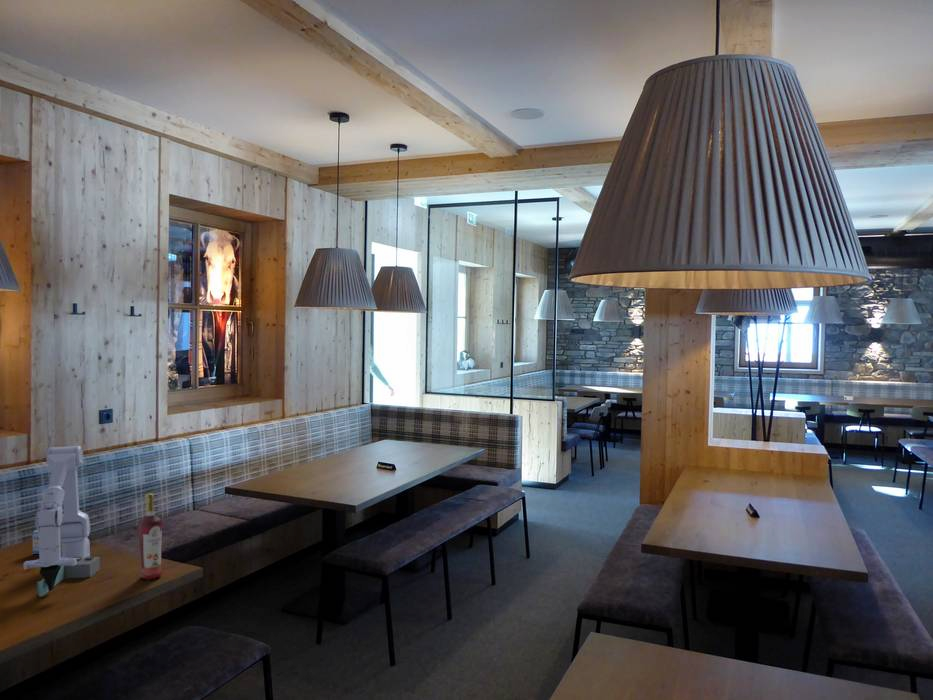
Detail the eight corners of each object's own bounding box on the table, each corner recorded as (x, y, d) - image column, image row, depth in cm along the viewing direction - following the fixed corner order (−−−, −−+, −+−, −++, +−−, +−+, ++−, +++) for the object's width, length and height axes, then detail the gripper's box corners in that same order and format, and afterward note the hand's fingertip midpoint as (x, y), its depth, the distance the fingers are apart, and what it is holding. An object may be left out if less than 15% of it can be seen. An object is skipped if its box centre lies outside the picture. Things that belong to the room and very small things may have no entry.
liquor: (146, 583, 222) (144, 498, 220) (135, 578, 226) (132, 495, 225) (167, 576, 227) (165, 493, 226) (156, 571, 232) (154, 490, 231)
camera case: (72, 570, 233) (72, 556, 233) (99, 569, 234) (99, 555, 234) (62, 578, 226) (61, 563, 226) (90, 577, 227) (89, 562, 227)
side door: (59, 578, 226) (58, 564, 226) (65, 578, 226) (64, 563, 226) (36, 597, 210) (36, 581, 210) (43, 596, 211) (42, 581, 211)
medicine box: (32, 555, 249) (31, 531, 249) (41, 551, 254) (41, 528, 253) (51, 556, 248) (50, 532, 248) (60, 552, 253) (59, 529, 252)
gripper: (18, 552, 208) (19, 596, 208) (70, 549, 210) (71, 592, 211) (28, 545, 214) (30, 587, 215) (78, 541, 217) (79, 583, 218)
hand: (51, 589), depth 213 cm, fingers closed
